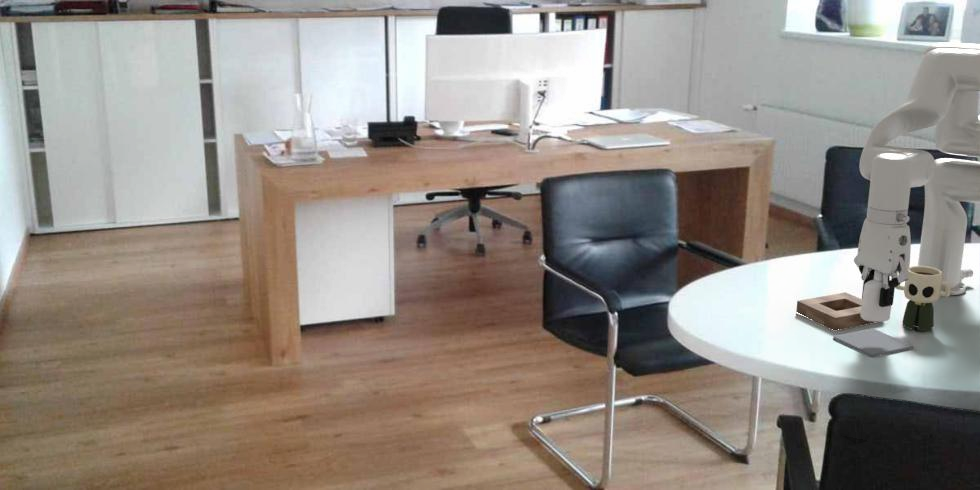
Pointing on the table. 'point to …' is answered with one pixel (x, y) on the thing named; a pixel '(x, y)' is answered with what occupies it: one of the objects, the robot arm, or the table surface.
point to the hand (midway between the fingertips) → (877, 301)
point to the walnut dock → (833, 310)
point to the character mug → (922, 296)
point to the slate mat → (872, 342)
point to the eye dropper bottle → (874, 301)
